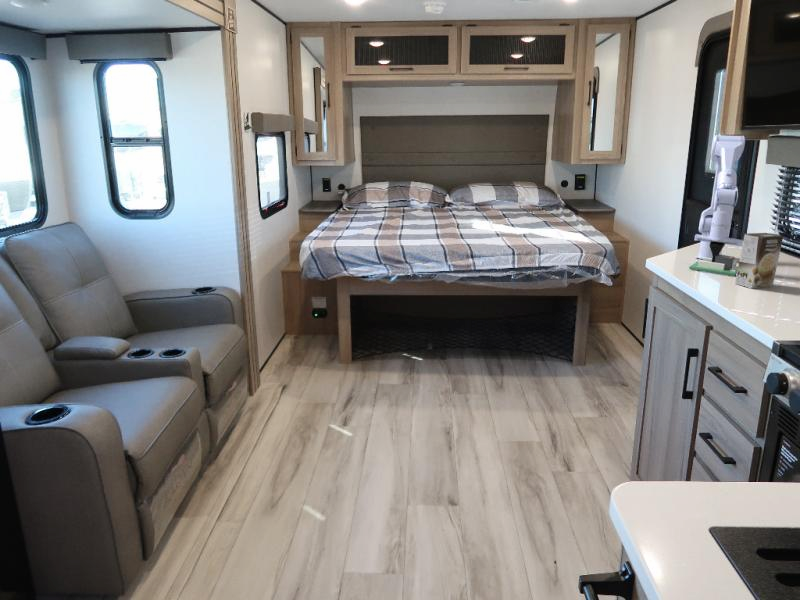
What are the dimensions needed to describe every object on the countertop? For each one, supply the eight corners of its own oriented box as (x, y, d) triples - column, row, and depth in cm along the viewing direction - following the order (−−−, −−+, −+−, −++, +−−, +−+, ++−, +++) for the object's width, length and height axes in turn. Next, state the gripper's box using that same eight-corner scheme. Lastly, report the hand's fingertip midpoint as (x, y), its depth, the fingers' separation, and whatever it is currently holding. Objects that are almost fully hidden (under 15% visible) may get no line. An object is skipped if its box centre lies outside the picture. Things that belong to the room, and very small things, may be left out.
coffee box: (752, 289, 187) (762, 237, 182) (734, 283, 192) (743, 233, 188) (773, 286, 190) (784, 235, 185) (755, 281, 196) (765, 232, 191)
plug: (716, 265, 211) (718, 253, 210) (732, 268, 208) (734, 256, 207) (713, 267, 208) (715, 255, 207) (729, 270, 205) (732, 258, 204)
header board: (697, 263, 218) (699, 251, 217) (741, 270, 210) (743, 257, 209) (689, 269, 209) (691, 256, 208) (734, 276, 201) (736, 263, 200)
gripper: (694, 223, 207) (688, 262, 211) (742, 228, 198) (735, 269, 202) (700, 220, 212) (693, 259, 216) (746, 226, 204) (739, 265, 208)
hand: (714, 263), depth 210 cm, fingers closed, pressing on plug
